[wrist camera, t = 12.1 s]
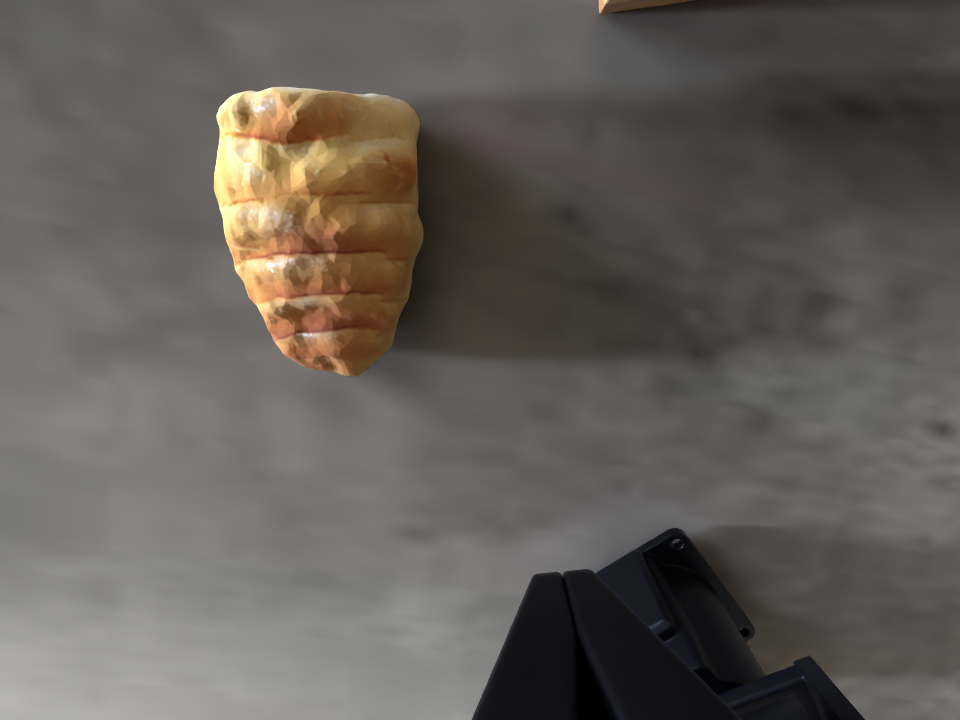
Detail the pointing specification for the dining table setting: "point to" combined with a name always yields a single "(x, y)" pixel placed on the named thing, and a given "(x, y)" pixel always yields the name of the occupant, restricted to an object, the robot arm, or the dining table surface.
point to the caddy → (632, 4)
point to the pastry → (322, 217)
